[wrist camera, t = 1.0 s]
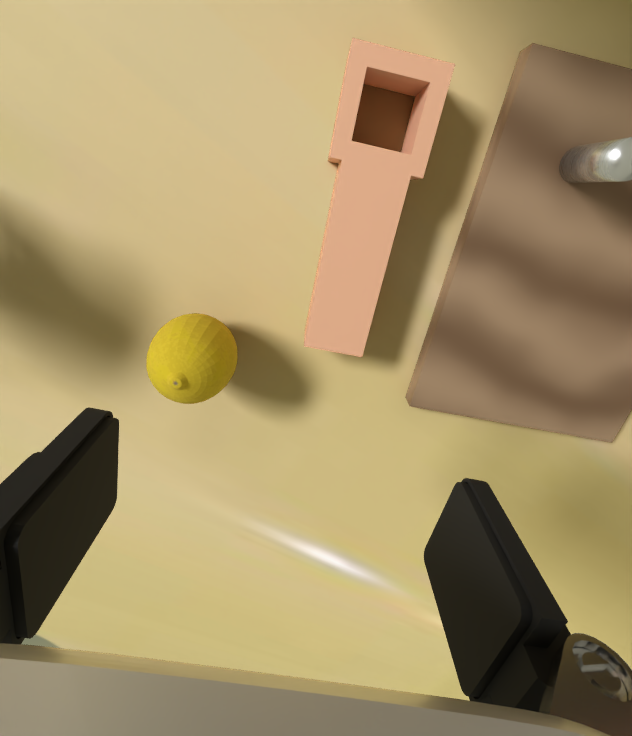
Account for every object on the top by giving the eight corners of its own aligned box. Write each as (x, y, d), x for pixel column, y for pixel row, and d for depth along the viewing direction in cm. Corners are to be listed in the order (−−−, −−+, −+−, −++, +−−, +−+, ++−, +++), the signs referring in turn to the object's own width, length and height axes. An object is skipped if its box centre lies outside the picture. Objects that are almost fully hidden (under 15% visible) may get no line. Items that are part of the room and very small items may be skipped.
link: (347, 58, 23) (352, 37, 20) (436, 80, 24) (455, 64, 21) (295, 327, 30) (293, 344, 27) (366, 341, 30) (372, 359, 27)
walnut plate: (520, 51, 23) (533, 42, 22) (780, 119, 25) (807, 115, 23) (405, 396, 32) (409, 406, 31) (599, 432, 34) (611, 442, 32)
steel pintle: (568, 142, 24) (621, 132, 20) (599, 149, 24) (658, 141, 20) (553, 178, 25) (601, 176, 20) (583, 186, 25) (637, 185, 21)
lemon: (261, 338, 30) (243, 386, 23) (212, 383, 32) (181, 441, 24) (205, 284, 29) (167, 317, 21) (156, 334, 30) (105, 381, 23)
